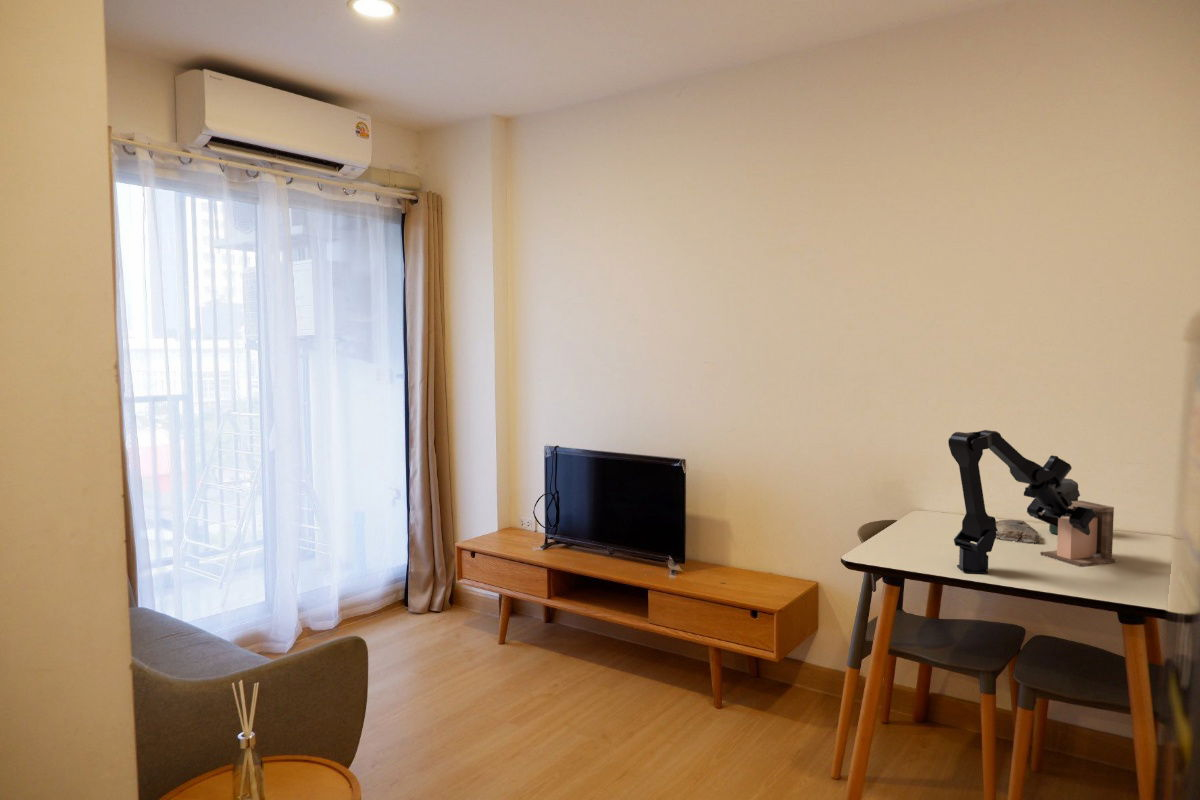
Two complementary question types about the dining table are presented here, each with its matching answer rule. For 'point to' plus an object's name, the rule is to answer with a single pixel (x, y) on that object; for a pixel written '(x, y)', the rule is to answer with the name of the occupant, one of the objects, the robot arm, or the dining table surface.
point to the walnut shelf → (1103, 536)
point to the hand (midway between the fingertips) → (1074, 530)
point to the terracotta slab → (1076, 540)
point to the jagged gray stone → (1016, 531)
